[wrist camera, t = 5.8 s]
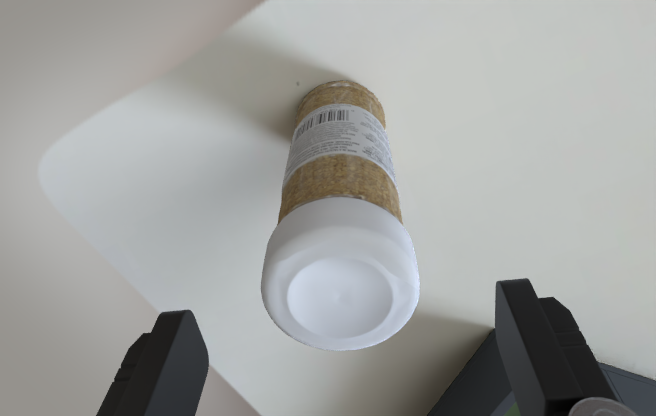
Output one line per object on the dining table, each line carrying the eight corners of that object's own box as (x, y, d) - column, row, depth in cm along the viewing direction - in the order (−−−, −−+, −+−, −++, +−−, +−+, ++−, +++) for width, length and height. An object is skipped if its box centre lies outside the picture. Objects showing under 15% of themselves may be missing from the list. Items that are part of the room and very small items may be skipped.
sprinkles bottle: (303, 166, 27) (273, 363, 16) (289, 82, 25) (241, 240, 13) (389, 157, 27) (425, 352, 15) (383, 71, 24) (419, 223, 13)
